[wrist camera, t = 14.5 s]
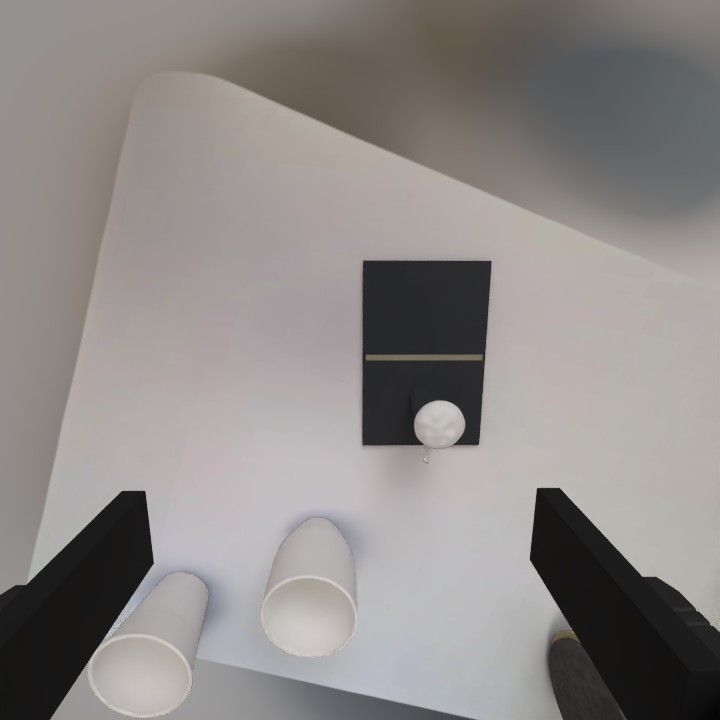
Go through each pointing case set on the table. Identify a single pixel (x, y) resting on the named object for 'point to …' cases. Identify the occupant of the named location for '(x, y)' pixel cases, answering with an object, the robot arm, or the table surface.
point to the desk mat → (422, 343)
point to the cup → (152, 651)
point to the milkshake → (435, 419)
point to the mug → (311, 592)
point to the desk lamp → (579, 682)
